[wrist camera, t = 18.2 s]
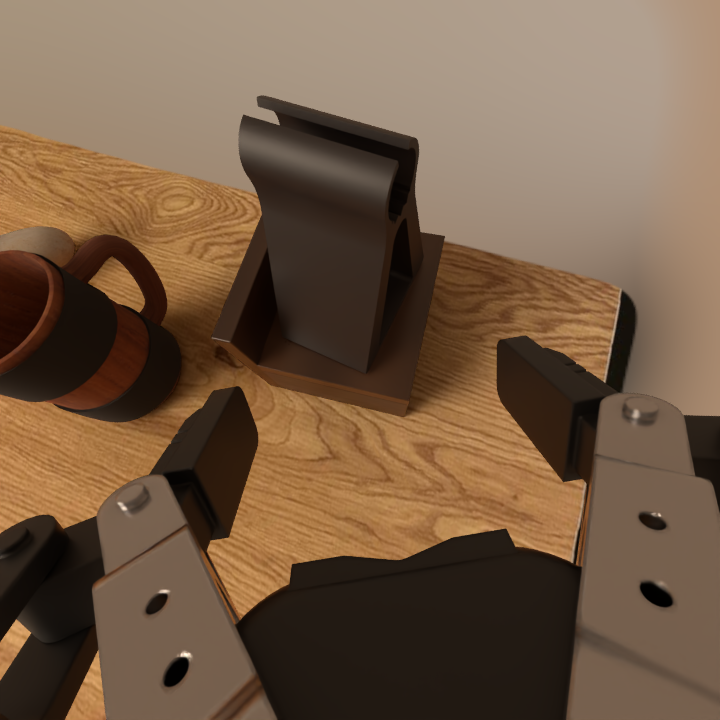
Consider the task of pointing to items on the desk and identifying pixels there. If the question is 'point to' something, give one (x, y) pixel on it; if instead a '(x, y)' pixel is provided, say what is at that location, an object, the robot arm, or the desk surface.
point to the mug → (84, 334)
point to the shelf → (311, 369)
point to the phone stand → (335, 225)
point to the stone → (40, 243)
